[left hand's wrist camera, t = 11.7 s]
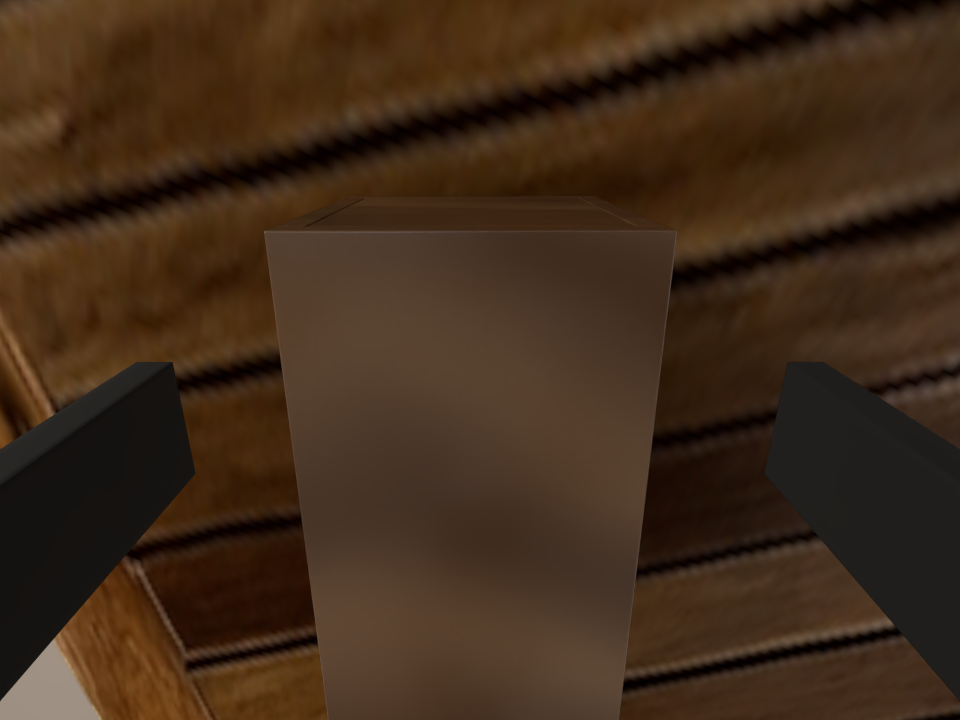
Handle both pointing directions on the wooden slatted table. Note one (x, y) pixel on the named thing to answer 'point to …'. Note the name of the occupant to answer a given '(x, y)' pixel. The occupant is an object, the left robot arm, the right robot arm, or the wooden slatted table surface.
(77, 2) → the wooden slatted table surface
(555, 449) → the cabinet
